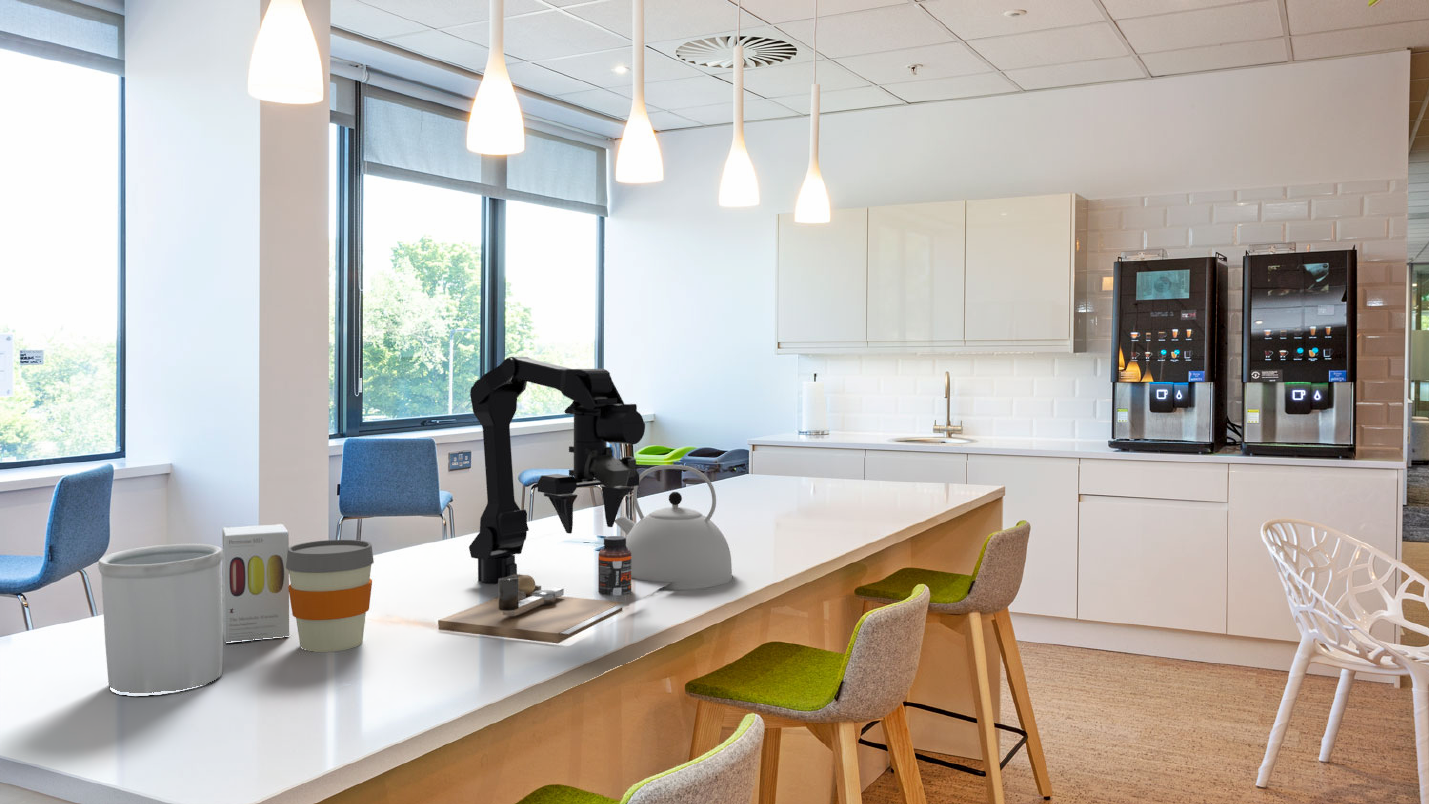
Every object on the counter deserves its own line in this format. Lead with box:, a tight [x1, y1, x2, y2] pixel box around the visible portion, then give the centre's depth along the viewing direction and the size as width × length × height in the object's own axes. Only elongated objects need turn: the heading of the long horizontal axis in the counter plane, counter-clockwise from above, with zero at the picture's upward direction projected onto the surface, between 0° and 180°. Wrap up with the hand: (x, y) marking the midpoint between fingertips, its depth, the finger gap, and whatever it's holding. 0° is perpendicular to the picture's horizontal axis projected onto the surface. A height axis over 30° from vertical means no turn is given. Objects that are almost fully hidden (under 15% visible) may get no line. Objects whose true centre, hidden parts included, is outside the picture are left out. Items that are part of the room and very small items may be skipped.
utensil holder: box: [97, 543, 224, 693], centre depth 142 cm, size 15×15×18 cm
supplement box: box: [221, 523, 290, 643], centre depth 165 cm, size 10×9×17 cm
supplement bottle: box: [597, 535, 632, 596], centre depth 189 cm, size 6×6×11 cm
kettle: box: [614, 464, 733, 591], centre depth 209 cm, size 25×23×22 cm
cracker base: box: [437, 573, 623, 644], centre depth 176 cm, size 22×24×4 cm
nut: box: [518, 574, 536, 595], centre depth 186 cm, size 4×4×4 cm
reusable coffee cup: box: [286, 539, 375, 653], centre depth 160 cm, size 13×13×15 cm
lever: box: [497, 577, 565, 616], centre depth 176 cm, size 18×4×6 cm, turn 159°
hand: (589, 530), depth 183 cm, fingers open, 9 cm apart
